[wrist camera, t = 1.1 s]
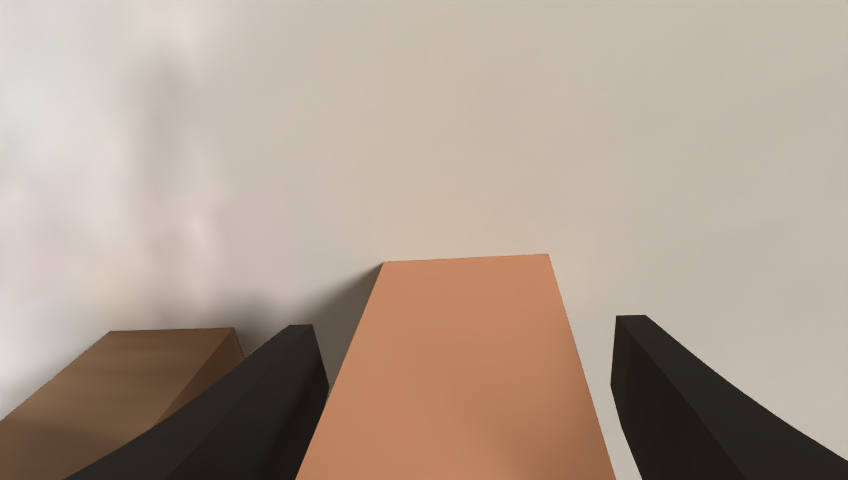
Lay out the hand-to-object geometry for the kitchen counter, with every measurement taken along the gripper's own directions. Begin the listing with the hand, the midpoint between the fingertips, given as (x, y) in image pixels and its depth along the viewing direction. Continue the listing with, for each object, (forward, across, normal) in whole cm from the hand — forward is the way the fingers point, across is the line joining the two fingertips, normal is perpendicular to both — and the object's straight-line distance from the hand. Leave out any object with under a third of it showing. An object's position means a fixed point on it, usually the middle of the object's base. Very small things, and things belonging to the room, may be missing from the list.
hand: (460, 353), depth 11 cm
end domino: (+3, 0, 0) cm, 4 cm away
